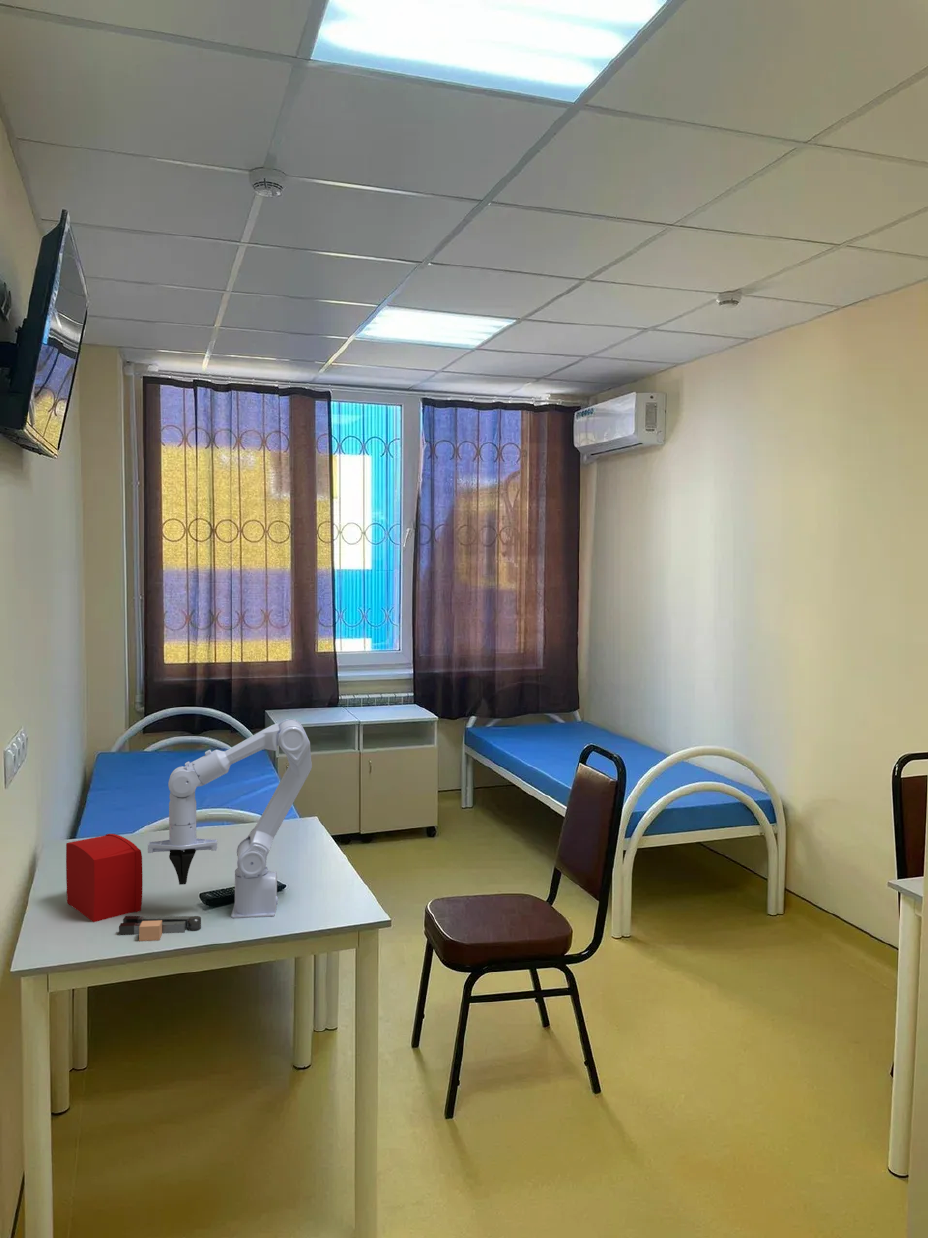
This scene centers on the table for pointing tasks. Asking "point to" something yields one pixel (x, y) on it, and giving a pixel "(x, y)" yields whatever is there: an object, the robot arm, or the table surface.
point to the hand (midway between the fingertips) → (183, 883)
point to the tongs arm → (168, 920)
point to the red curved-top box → (104, 876)
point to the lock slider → (150, 930)
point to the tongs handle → (166, 928)
